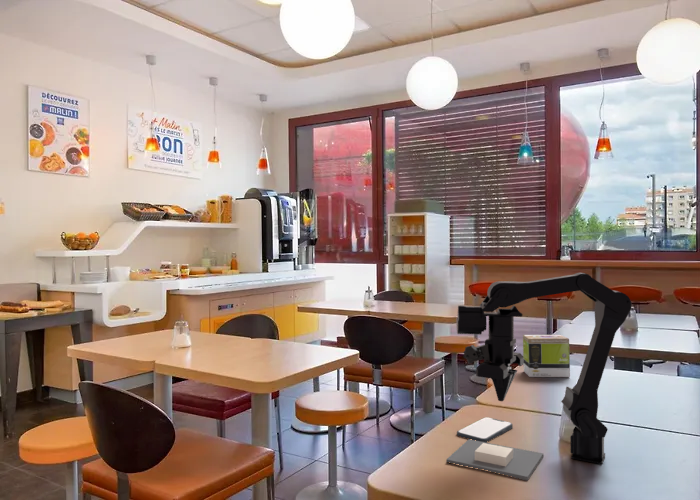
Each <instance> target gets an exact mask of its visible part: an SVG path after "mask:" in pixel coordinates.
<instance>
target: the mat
mask: <svg viewBox="0 0 700 500" xmlns="http://www.w3.org/2000/svg"><path fill="white" fill-rule="evenodd" d="M483 443H486V444H491V445H497V446H502V447H507V448H512V449H513V458H512V459H511V461H510V462H509V463H508V464H507V466H501V465H496V464H492V463H487V462H482V461H477V460H475V450H476V449H477V448H479V447H480V446H481V445H482V444H483ZM543 458H544V452H538V451H532V450H527V449H522V448H518V447H517V448H516V447H512V446H507V445H502V444H501V445H500V444H496V443H490V442H481V441H475V440H470V439H467V440H466V441H465V442H464V443H463V444H461V446H459V447H458V448H457V450H455V451H454V452H453V453H451V455H449V456H448V457H447V458H446V459H445V461H446V462H450V463H455V464H459V465H463V466H468V467H473V468H478V469H484V470H488V471H491V472H496V473H500V474H504V475H508V476H507V477H509V476H512V477H511V478H513V477H515V478H514V479H518V478H519V480H523V481H529V479H530V478H531V476H532V475H533V474H534V472H535V470H536V468H537V467H538V465H540V463H541V461H542V460H543ZM463 466H462V467H463ZM504 475H503V476H504Z"/></svg>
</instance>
